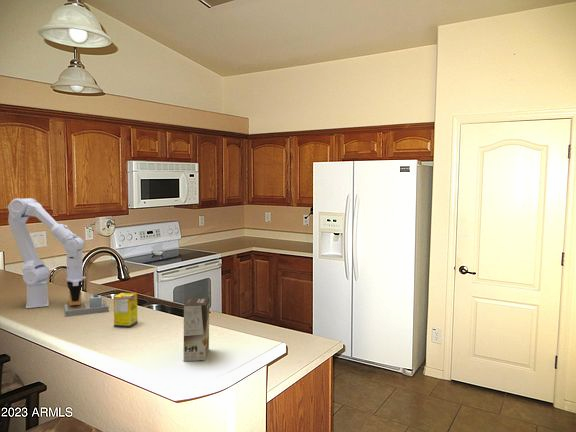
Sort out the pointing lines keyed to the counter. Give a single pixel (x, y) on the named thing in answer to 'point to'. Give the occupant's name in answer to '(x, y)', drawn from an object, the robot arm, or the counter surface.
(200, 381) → the counter surface
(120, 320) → the supplement box
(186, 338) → the coffee box
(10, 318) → the counter surface
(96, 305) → the seated plug
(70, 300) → the orange plug
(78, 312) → the e-shaped shelf rack
